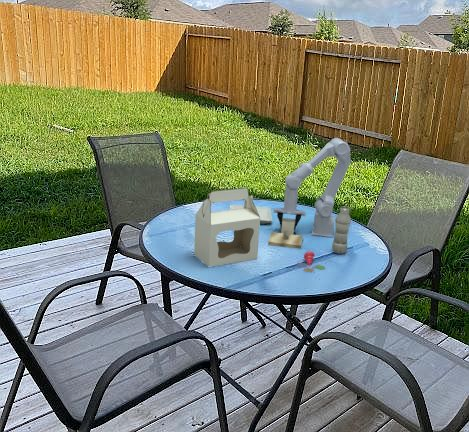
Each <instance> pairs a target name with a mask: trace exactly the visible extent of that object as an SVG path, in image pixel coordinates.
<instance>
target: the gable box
mask: <svg viewBox="0 0 469 432" xmlns="http://www.w3.org/2000/svg"><path fill="white" fill-rule="evenodd" d="M241 200H242V201H244V202H243V203H244V204H243V205H244V208H239V209H231V210H230V209H225V210H224V209H223V210H216V211H211V209H212V208H211V207H212V204H217V203H224V202H232V201H234V202H235V201H241ZM255 206H256V205H255V203H254V196H253V194H251V195H249V189H248V188H246V187H241V188H231V189H230V188H229V189H223V190H221V189H220V190H213V191H210V192H208V198H206V199H204V200H203V202H202V204H201V206H200V207H199V208H198V210H197V211H196V213H195V217H194V219H195V220H194V221H195V222H194V247H193V248H194V249H193V251H194V254H195V255H196V256H197V257H198V258H199V259H198V258H197V257H196V256H195V255H194V254H193V255H194V256H195V257H196V258H197V259H198V260H200V261H201V260H202V261H203V262H204V263H205V264H206V265H207V266H209V267H210V266H216V267H218V266H217V265H221V266H224V265H223V264H227V265H230V264H229V263H232V264H237V262H238V263H242V262H246V261H253V260H257V259H258V253H259V252H258V251H259V240H260V239H259V238H260V227H261V226H260V225H261V224H260V216H259V214H258V212H257V209H256V207H255ZM225 231H233V239H232V241H217V236H218V235H219V234H220V233H221V232H225ZM202 261H201V262H202ZM203 262H202V263H203ZM204 263H203V264H204ZM205 264H204V265H205ZM206 265H205V266H206ZM207 266H206V267H207ZM209 267H208V268H209ZM210 268H211V267H210Z"/></svg>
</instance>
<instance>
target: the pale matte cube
mask: <svg viewBox="0 0 469 432" xmlns="http://www.w3.org/2000/svg"><path fill="white" fill-rule="evenodd" d="M294 226H295V218H288V217H283V221H282V229H280V233H283V234H284V231H289V234H292V235H295V231H294Z"/></svg>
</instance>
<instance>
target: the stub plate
mask: <svg viewBox="0 0 469 432" xmlns="http://www.w3.org/2000/svg"><path fill="white" fill-rule="evenodd" d="M302 242H303V235H299V234H293V235H292V234H289V231H284V234H283V233H281V232H273V231H272V232H270V235H269V239H268V243H267V245H268V246H275V247H284V248H290V249H291V248H292V249H297V250H298V249H299V250H300V249H301V248H302Z"/></svg>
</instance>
